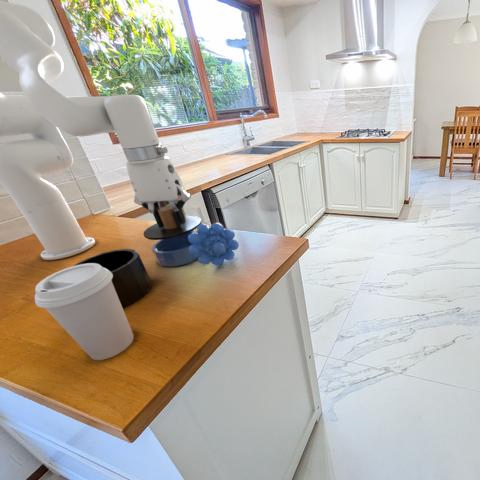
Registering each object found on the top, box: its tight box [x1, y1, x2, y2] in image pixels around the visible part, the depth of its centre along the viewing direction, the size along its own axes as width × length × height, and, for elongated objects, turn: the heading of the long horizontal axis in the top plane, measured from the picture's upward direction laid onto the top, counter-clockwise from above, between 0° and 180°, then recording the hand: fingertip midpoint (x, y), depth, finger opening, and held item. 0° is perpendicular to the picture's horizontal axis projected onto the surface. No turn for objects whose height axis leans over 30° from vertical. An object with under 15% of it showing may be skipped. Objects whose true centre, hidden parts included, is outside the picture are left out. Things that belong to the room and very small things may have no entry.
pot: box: [73, 248, 153, 309], centre depth 64 cm, size 13×13×8 cm
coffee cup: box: [34, 263, 135, 361], centre depth 48 cm, size 10×10×15 cm
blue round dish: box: [151, 230, 199, 268], centre depth 79 cm, size 13×13×4 cm
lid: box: [143, 206, 203, 241], centre depth 75 cm, size 14×14×6 cm
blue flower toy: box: [188, 222, 240, 267], centre depth 71 cm, size 12×7×12 cm, turn 135°
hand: (172, 224), depth 76 cm, fingers closed on lid, 4 cm apart
